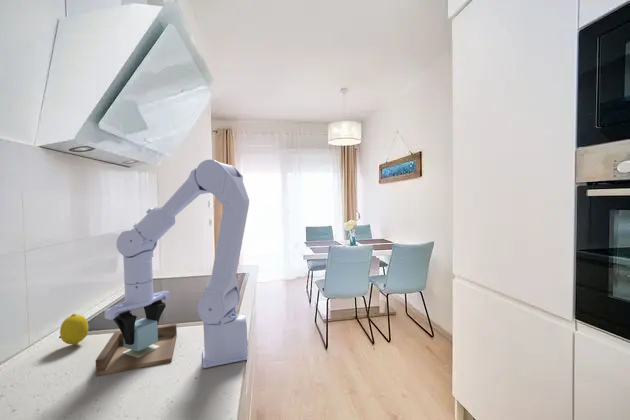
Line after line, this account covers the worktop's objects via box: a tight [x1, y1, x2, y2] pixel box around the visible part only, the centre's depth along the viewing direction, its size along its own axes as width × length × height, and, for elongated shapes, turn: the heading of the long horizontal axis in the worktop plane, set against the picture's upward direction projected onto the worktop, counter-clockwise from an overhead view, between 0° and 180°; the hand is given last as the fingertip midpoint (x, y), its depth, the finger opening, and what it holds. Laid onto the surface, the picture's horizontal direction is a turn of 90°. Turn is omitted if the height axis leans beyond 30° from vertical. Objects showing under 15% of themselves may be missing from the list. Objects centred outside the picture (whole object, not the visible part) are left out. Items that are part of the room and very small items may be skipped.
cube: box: [124, 317, 159, 351], centre depth 70 cm, size 5×5×5 cm
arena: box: [95, 323, 178, 377], centre depth 70 cm, size 14×14×3 cm
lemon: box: [59, 313, 89, 346], centre depth 75 cm, size 6×6×8 cm
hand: (141, 338), depth 70 cm, fingers closed on cube, 5 cm apart
